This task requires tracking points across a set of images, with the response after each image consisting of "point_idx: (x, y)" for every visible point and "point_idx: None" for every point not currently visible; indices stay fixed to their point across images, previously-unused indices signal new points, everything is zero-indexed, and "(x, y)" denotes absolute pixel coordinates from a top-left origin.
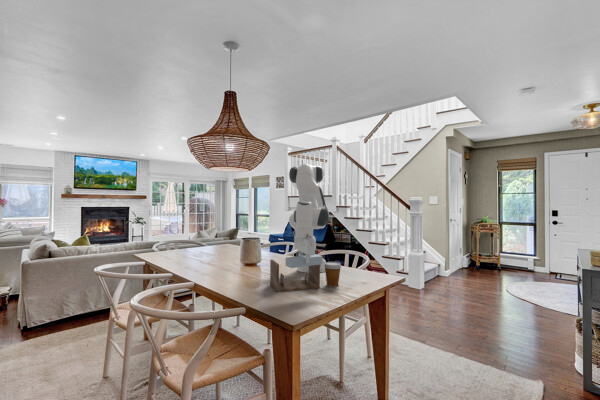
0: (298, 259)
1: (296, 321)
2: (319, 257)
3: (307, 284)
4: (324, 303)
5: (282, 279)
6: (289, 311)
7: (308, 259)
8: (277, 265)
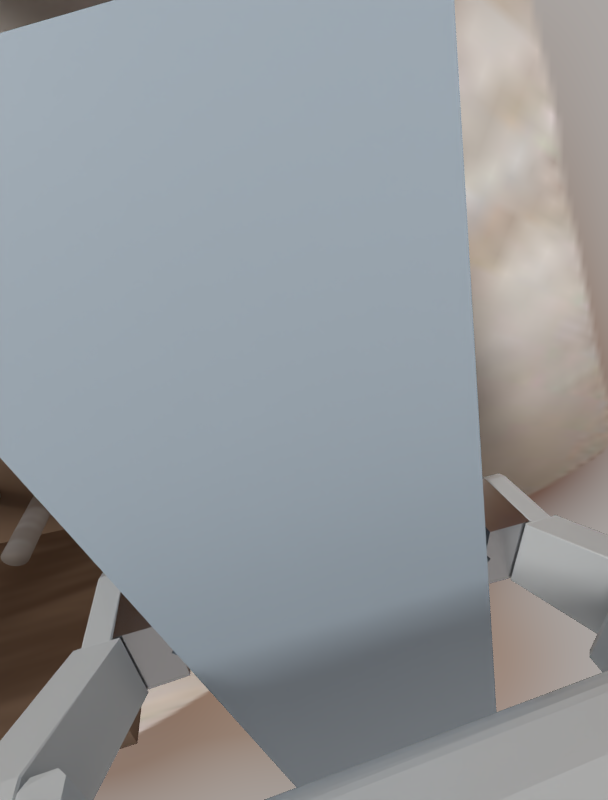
0: (486, 667)
1: (597, 430)
2: (438, 156)
3: None
4: (476, 227)
5: (42, 530)
6: (494, 450)
7: (544, 528)
8: (136, 727)
